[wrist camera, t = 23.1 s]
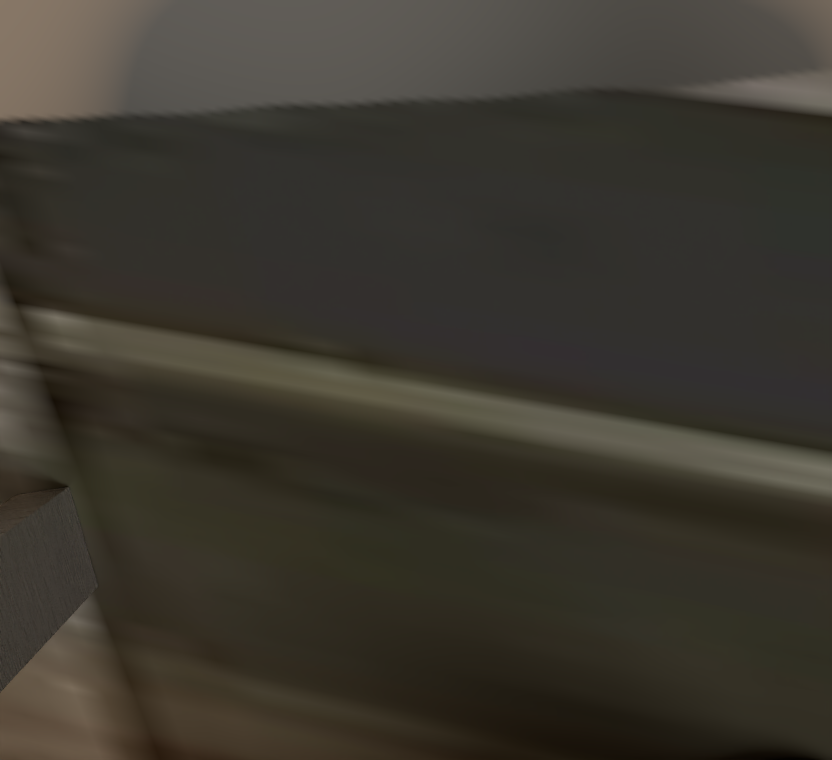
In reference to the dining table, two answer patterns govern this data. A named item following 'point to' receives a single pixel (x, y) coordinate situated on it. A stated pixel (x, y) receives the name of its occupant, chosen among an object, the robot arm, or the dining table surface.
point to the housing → (39, 573)
